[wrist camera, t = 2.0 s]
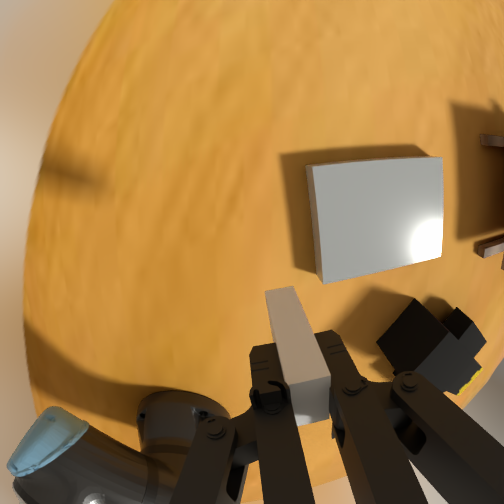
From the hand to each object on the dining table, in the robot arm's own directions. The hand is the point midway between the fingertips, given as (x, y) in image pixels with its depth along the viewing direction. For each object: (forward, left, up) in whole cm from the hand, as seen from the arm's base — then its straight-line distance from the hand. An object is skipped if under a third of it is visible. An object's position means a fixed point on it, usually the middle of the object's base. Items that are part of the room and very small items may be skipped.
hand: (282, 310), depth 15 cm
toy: (+27, -27, -16) cm, 41 cm away
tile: (+14, 0, -16) cm, 21 cm away
